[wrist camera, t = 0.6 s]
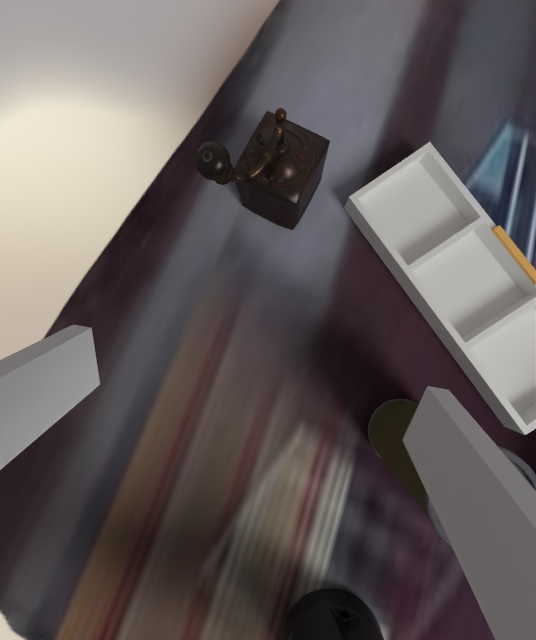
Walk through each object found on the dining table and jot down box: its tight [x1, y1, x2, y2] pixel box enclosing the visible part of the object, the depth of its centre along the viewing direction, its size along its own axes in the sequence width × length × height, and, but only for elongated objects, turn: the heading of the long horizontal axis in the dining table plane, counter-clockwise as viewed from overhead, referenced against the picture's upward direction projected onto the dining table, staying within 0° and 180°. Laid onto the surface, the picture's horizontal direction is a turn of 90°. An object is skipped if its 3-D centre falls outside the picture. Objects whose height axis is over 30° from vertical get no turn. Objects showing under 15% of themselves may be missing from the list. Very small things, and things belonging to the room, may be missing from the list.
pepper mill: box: [196, 108, 330, 230], centre depth 35 cm, size 16×11×18 cm
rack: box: [344, 142, 536, 435], centre depth 39 cm, size 43×15×4 cm, turn 34°
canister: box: [368, 399, 536, 548], centre depth 31 cm, size 11×10×20 cm
